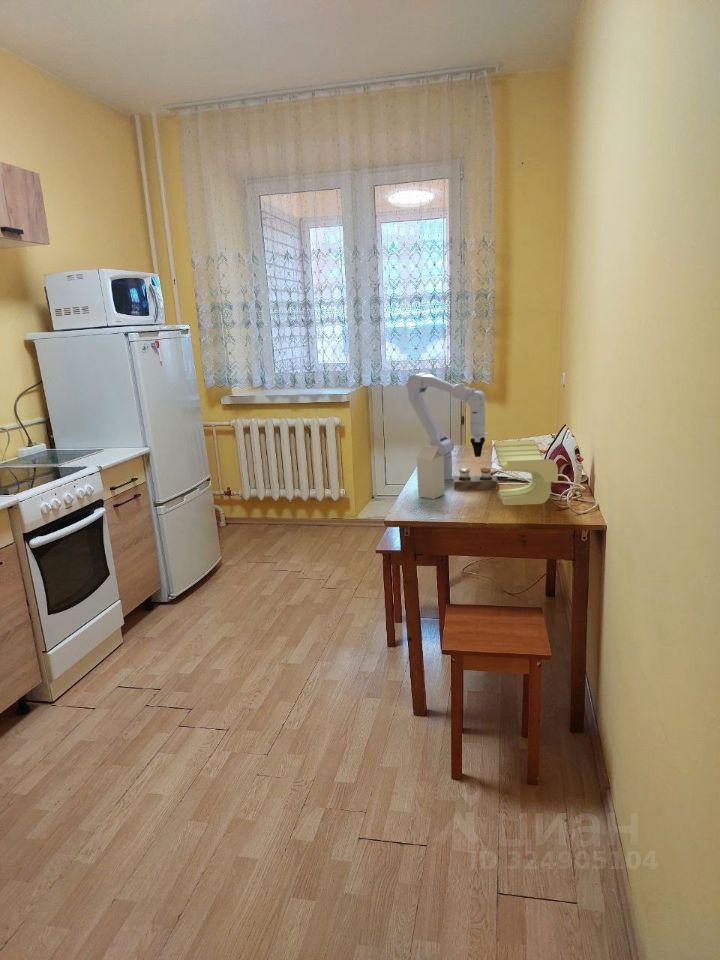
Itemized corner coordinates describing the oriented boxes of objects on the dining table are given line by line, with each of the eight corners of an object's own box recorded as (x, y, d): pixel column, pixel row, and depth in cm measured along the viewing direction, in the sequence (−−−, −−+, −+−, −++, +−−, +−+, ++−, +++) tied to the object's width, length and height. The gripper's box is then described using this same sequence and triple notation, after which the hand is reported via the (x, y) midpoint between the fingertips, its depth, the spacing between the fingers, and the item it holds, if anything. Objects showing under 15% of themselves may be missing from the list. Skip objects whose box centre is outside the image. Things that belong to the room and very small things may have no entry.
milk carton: (433, 499, 215) (431, 448, 210) (418, 496, 220) (416, 446, 215) (444, 494, 220) (443, 444, 215) (429, 491, 225) (427, 443, 220)
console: (454, 489, 226) (453, 481, 225) (454, 483, 233) (454, 476, 233) (496, 488, 223) (496, 481, 222) (496, 483, 230) (496, 475, 229)
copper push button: (480, 481, 225) (480, 470, 224) (480, 478, 229) (480, 467, 228) (491, 481, 224) (491, 470, 223) (491, 478, 228) (491, 467, 227)
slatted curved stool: (556, 511, 194) (558, 458, 190) (507, 513, 196) (507, 461, 191) (537, 485, 223) (538, 439, 218) (495, 487, 225) (494, 441, 220)
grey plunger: (459, 481, 227) (459, 470, 225) (459, 478, 230) (459, 468, 229) (469, 481, 226) (469, 470, 225) (470, 478, 230) (469, 467, 228)
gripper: (488, 425, 221) (488, 460, 225) (487, 418, 235) (487, 451, 239) (469, 426, 223) (469, 460, 226) (469, 419, 237) (470, 452, 240)
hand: (477, 456), depth 233 cm, fingers closed
